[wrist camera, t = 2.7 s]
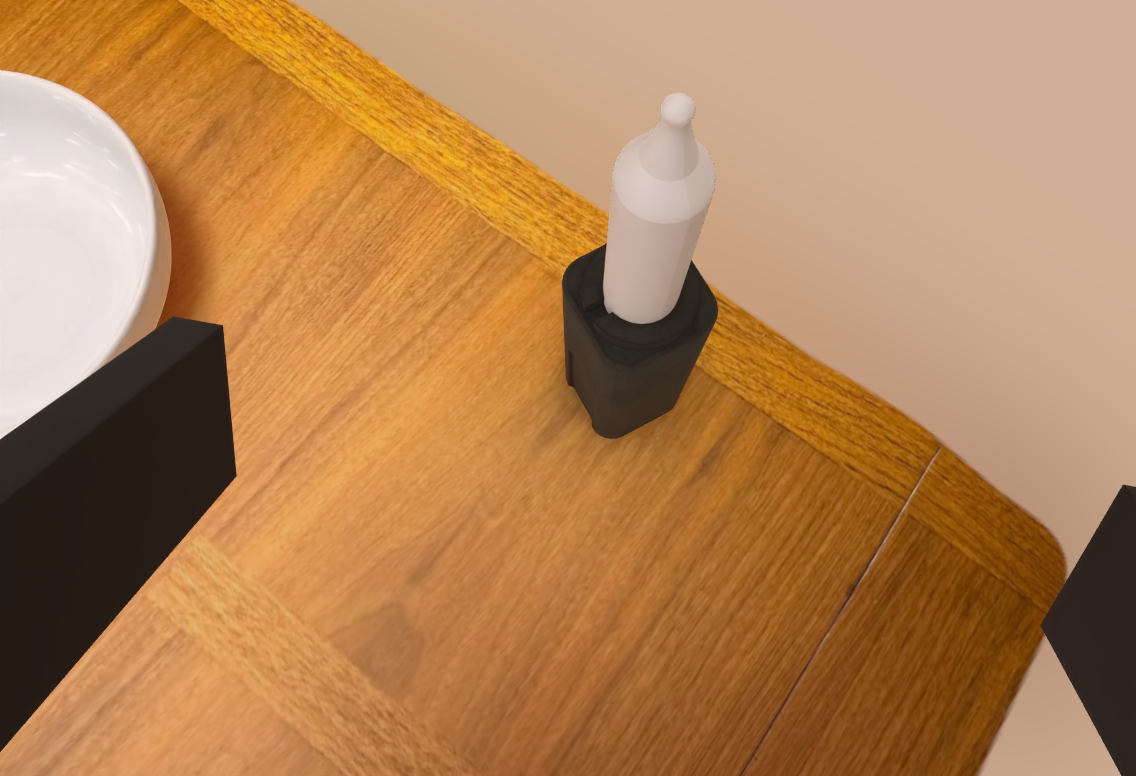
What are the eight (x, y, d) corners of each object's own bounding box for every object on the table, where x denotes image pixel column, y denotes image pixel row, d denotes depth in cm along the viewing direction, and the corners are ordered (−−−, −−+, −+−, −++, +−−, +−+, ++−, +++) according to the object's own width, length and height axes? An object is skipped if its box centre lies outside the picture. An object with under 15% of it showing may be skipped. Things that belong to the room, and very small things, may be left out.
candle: (685, 402, 43) (828, 136, 19) (603, 446, 42) (640, 230, 18) (638, 324, 44) (716, -20, 20) (557, 366, 43) (537, 63, 19)
